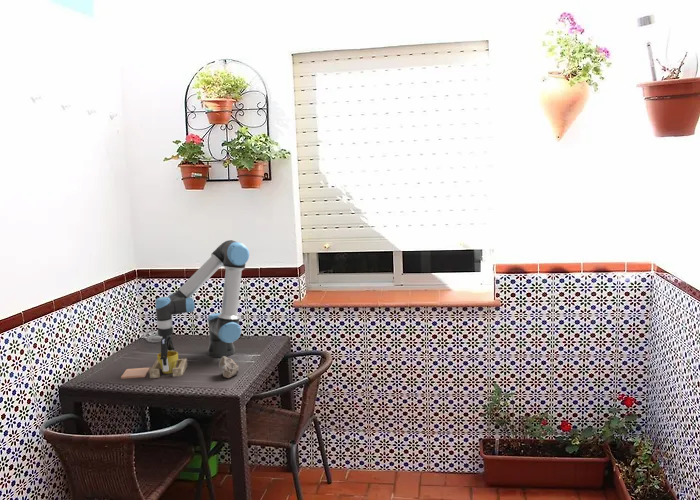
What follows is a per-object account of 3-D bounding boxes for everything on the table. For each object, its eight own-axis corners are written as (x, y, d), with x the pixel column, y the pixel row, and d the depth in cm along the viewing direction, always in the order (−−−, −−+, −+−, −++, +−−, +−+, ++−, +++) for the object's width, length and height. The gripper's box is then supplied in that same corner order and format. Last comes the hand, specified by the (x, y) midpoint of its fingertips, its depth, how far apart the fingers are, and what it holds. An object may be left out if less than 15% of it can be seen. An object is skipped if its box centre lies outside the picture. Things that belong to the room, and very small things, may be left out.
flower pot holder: (187, 365, 352) (186, 358, 351) (181, 376, 336) (181, 368, 336) (156, 367, 351) (156, 360, 350) (150, 378, 335) (149, 370, 335)
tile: (150, 369, 349) (150, 367, 349) (144, 377, 337) (144, 375, 337) (127, 370, 348) (127, 368, 348) (121, 378, 336) (120, 376, 336)
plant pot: (173, 375, 338) (172, 357, 336) (155, 374, 340) (153, 356, 338) (182, 368, 348) (181, 350, 346) (164, 368, 350) (162, 350, 348)
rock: (226, 385, 328) (238, 370, 327) (209, 370, 329) (221, 355, 328) (232, 381, 337) (244, 366, 336) (215, 366, 338) (226, 351, 337)
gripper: (162, 321, 352) (166, 359, 355) (152, 334, 327) (156, 375, 331) (176, 320, 352) (180, 358, 356) (167, 333, 328) (171, 374, 331)
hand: (168, 366), depth 343 cm, fingers open, 13 cm apart
